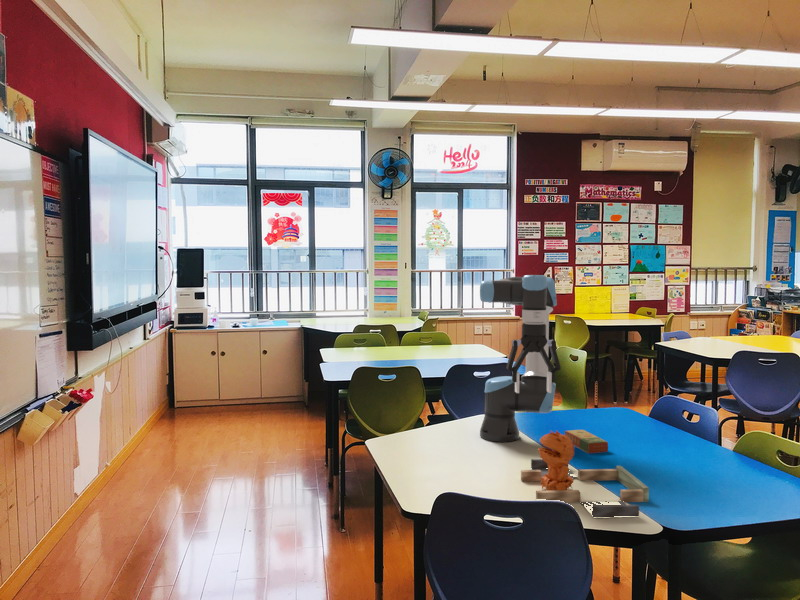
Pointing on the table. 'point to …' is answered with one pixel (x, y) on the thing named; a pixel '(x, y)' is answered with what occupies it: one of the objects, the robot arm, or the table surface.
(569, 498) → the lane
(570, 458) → the orange sculpted figure
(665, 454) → the table surface
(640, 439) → the table surface
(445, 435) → the table surface
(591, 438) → the carton
